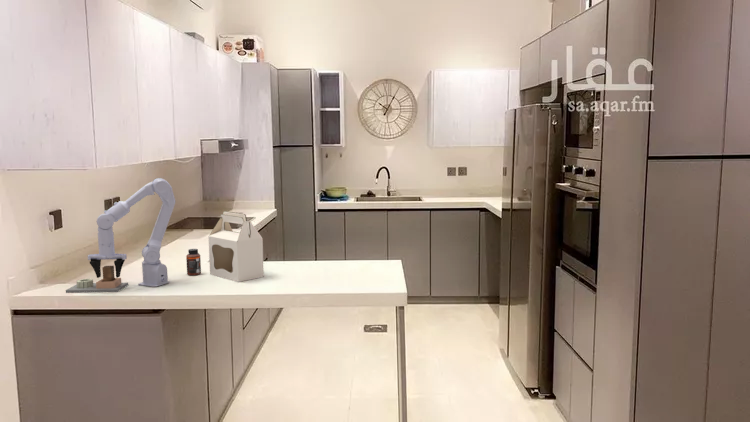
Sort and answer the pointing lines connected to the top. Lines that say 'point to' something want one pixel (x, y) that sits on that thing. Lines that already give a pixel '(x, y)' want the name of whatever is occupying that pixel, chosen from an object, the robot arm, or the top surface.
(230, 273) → the gable box
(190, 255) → the supplement bottle
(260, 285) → the top surface
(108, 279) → the square bit
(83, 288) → the socket block
